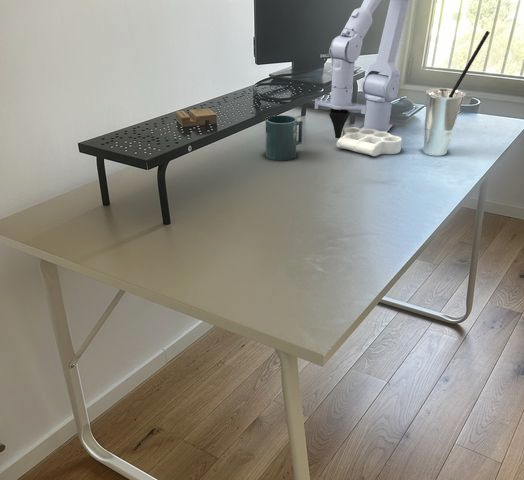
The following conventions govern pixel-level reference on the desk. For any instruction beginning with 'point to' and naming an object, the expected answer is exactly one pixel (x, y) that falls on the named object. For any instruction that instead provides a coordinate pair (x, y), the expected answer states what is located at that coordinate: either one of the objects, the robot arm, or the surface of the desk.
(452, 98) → the metal cup with straw
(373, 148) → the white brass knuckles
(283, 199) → the desk surface
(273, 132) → the mug
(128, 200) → the desk surface
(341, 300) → the desk surface
